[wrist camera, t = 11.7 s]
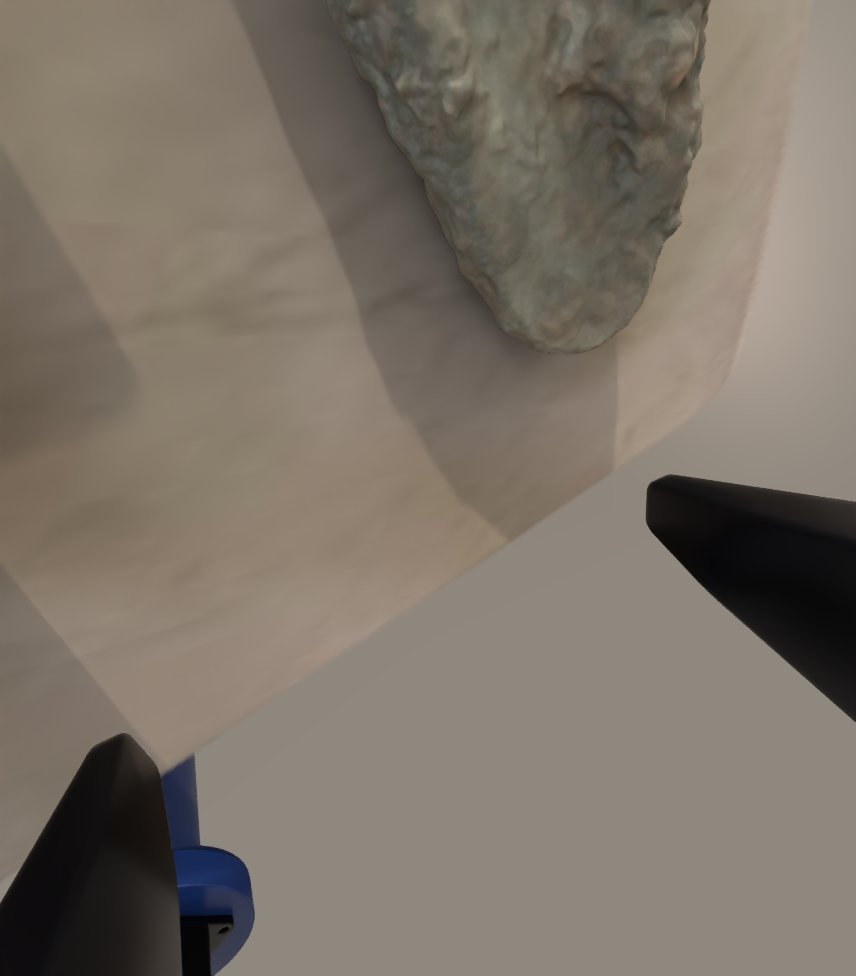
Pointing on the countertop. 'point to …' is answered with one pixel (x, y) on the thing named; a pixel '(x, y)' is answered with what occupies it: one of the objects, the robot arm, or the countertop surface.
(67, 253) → the countertop surface
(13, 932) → the robot arm
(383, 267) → the countertop surface
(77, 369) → the countertop surface
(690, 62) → the elongated rock
